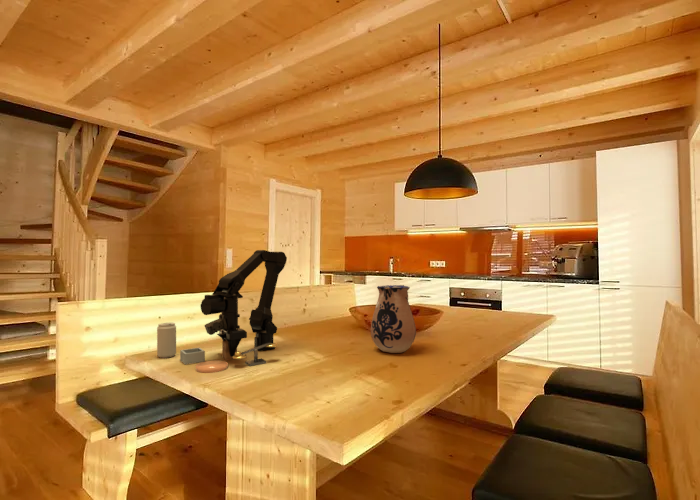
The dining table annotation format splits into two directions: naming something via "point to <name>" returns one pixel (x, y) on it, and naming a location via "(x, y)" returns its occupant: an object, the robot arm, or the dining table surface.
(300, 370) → the dining table surface
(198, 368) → the dish
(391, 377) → the dining table surface
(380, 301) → the ceramic pitcher
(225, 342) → the block
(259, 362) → the balance
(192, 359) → the collar
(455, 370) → the dining table surface
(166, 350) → the beverage can
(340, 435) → the dining table surface
